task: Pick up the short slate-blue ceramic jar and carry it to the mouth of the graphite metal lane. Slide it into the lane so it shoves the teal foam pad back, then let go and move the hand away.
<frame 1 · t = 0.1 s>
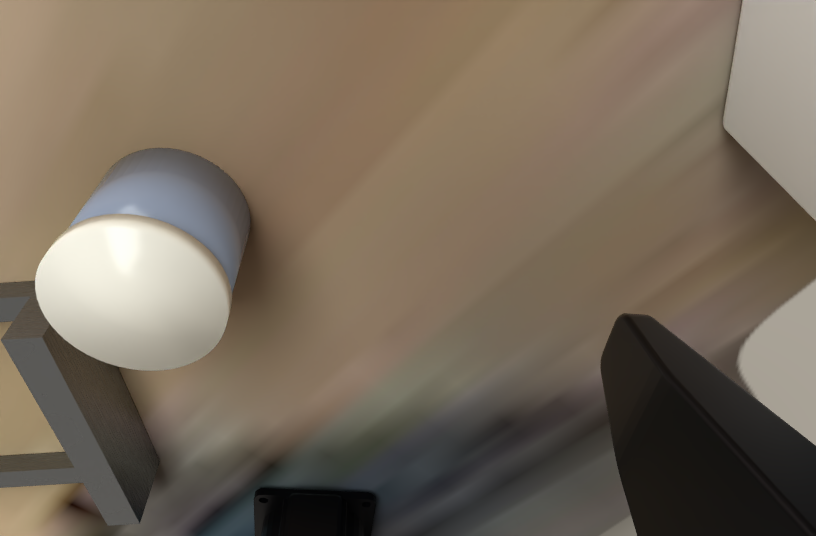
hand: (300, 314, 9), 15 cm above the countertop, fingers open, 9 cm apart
jar: (176, 214, 25), on the countertop
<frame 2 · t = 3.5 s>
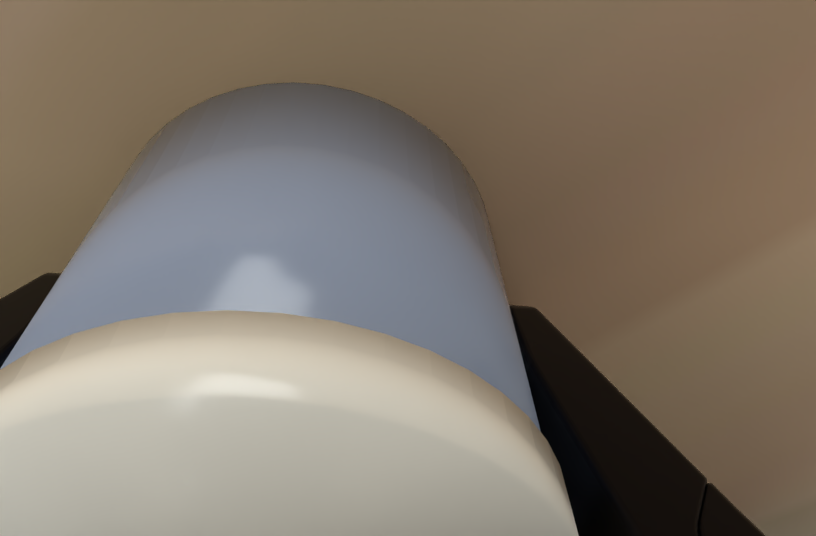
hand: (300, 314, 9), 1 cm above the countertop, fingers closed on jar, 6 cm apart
jar: (308, 260, 10), on the countertop, touching gripper
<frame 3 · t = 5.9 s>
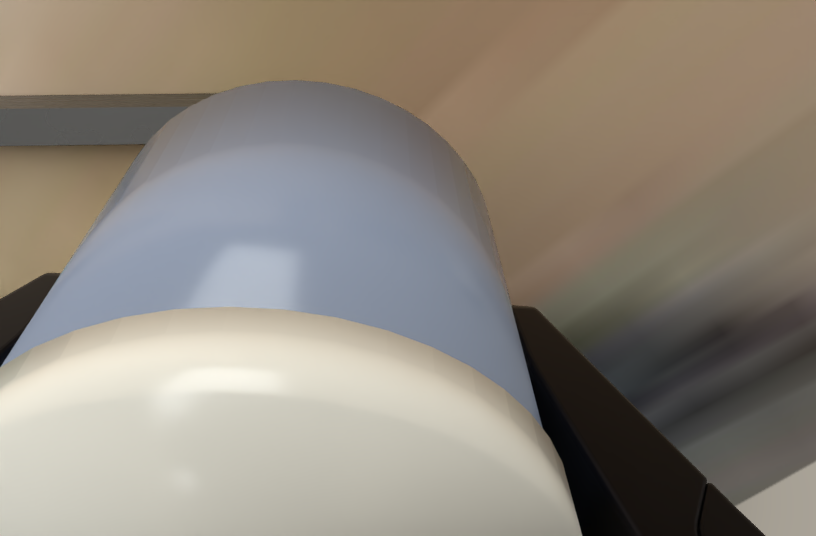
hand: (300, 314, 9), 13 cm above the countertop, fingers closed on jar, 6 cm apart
lane: (87, 252, 24), on the countertop
jar: (309, 258, 10), point 12 cm above the countertop, touching gripper
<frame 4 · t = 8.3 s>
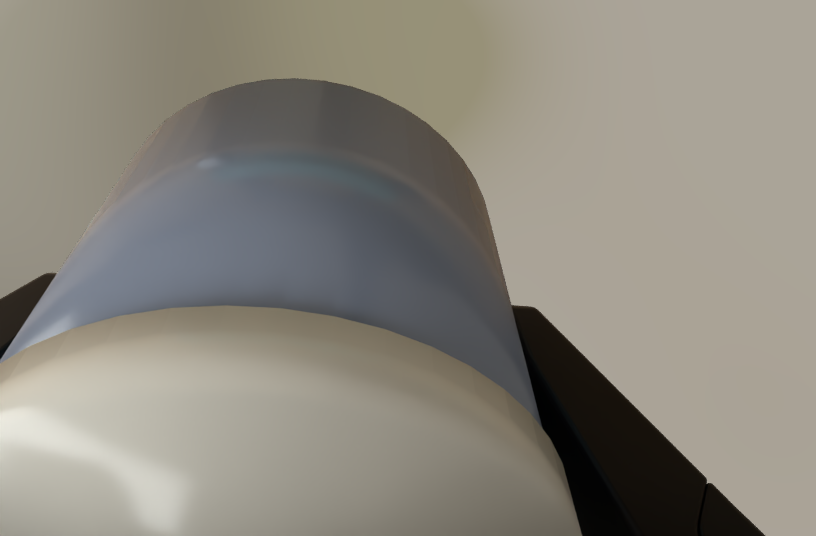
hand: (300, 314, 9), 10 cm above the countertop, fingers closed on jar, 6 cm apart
jar: (307, 257, 10), point 9 cm above the countertop, touching gripper
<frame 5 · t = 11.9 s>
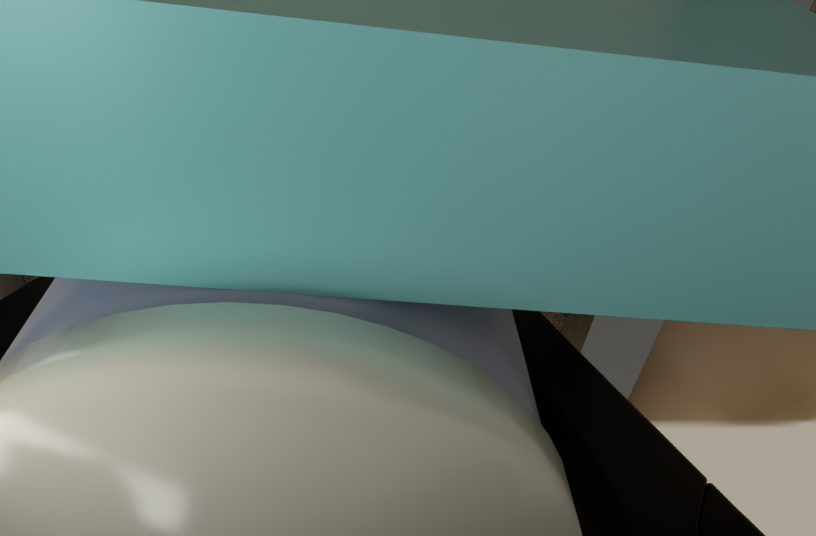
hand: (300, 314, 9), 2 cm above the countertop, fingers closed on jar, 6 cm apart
teal foam pad: (297, 47, 6), point 3 cm above the countertop, slide at 5.9 cm, touching jar
jar: (308, 258, 10), point 1 cm above the countertop, touching gripper, teal foam pad
when the fingers open (2 cm above the countertop, at t = 13.0 s): jar stays where it is, resting on teal foam pad.
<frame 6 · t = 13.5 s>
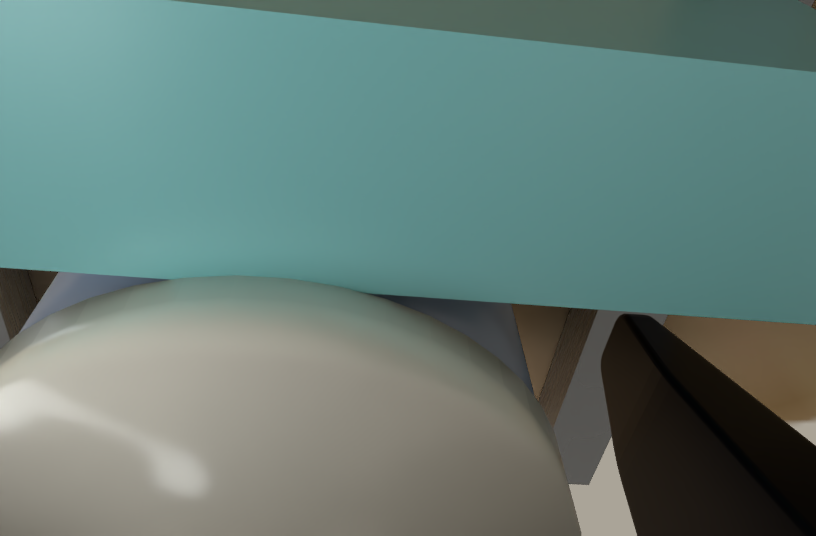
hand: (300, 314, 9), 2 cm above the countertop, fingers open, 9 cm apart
teal foam pad: (302, 44, 6), point 3 cm above the countertop, slide at 6.0 cm, touching jar
jar: (310, 244, 10), point 1 cm above the countertop, touching teal foam pad
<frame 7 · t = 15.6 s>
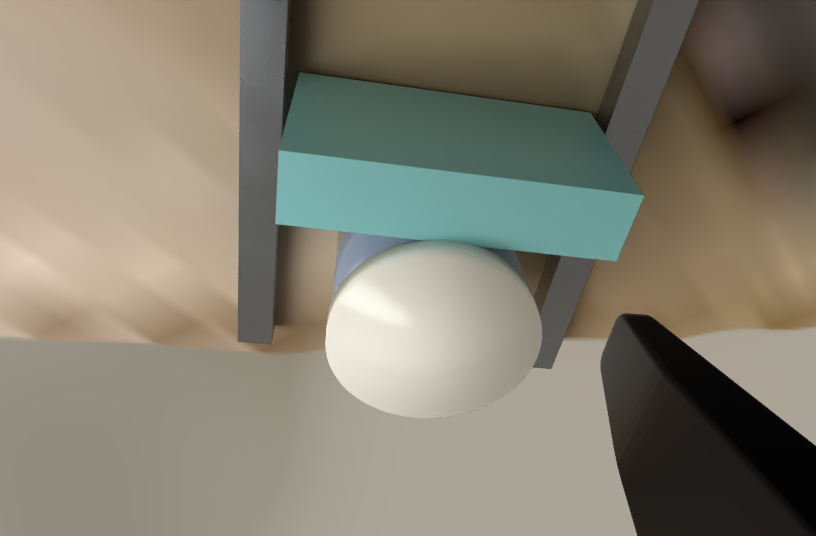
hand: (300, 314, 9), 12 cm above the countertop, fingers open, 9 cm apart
teal foam pad: (450, 162, 18), point 3 cm above the countertop, slide at 6.0 cm, touching jar
lane: (441, 122, 20), on the countertop
jar: (422, 234, 22), point 1 cm above the countertop, touching teal foam pad
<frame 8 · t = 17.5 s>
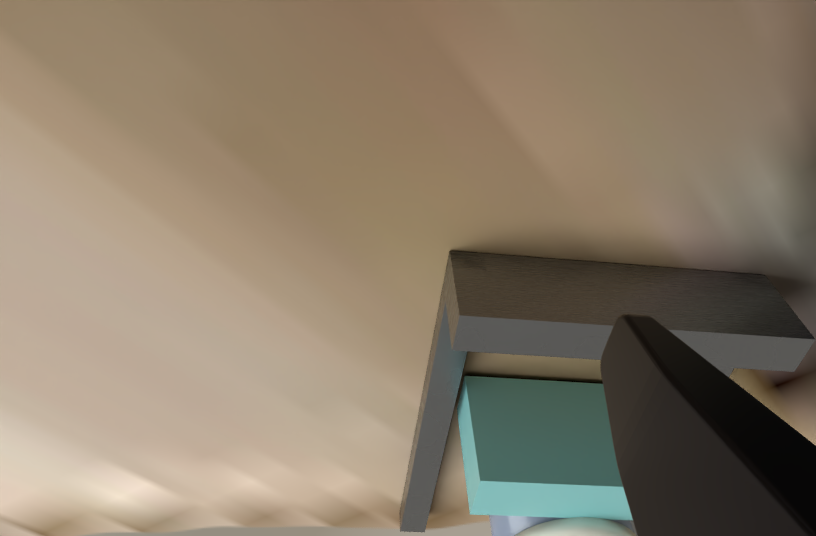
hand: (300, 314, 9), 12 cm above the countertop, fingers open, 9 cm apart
teal foam pad: (577, 446, 26), point 3 cm above the countertop, slide at 6.0 cm, touching jar
lane: (561, 395, 28), on the countertop
jar: (543, 462, 30), point 1 cm above the countertop, touching teal foam pad
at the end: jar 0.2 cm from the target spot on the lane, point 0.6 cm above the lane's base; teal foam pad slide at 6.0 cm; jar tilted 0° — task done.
